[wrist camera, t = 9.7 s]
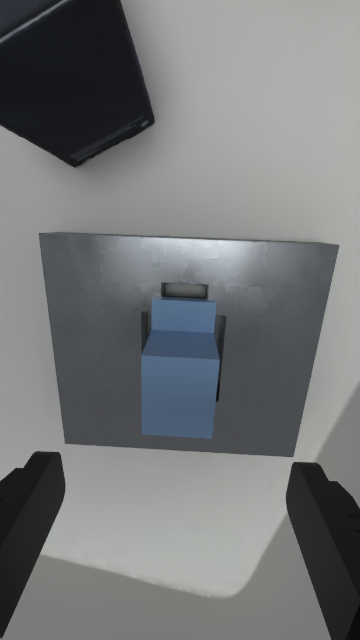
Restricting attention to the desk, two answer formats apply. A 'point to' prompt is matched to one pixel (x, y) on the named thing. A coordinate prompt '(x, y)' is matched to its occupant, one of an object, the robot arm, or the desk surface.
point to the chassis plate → (234, 344)
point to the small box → (70, 76)
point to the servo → (180, 368)
